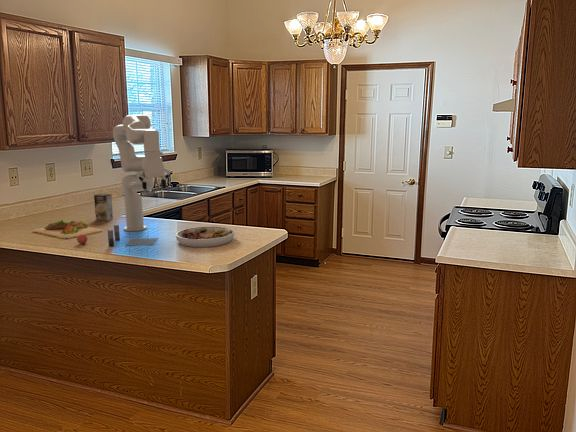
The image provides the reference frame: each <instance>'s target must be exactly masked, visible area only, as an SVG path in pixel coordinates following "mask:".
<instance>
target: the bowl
mask: <svg viewBox="0 0 576 432" xmlns="http://www.w3.org/2000/svg"><path fill="white" fill-rule="evenodd" d="M234 237H235V230H234V229H232V228H230V227H225V226H215V225H214V226H213V225H212V226H209V225H208V226H196V227H188V228H184V229H181V230H179V231H177V232H176V233H175V238H176V241H177V242H178V243H179V244H180V245H182V246H185V247H191V248H211V247H212V248H213V247H218V246H223V245H226V244H228V243H230V242H232V240H233V239H234Z"/></svg>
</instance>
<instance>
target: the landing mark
mask: <svg viewBox="0 0 576 432" xmlns="http://www.w3.org/2000/svg"><path fill="white" fill-rule="evenodd" d="M158 239H159V238H158V237H153V238H151V237H150V238H149V237H148V238H130V240H129V241H128V242H127V243H126V244H125V247H128V246H129V247H132V246H133V247H134V246H135V247H136V246H154V245H155V243H156V242H157V241H158Z"/></svg>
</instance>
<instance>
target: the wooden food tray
mask: <svg viewBox="0 0 576 432" xmlns="http://www.w3.org/2000/svg"><path fill="white" fill-rule="evenodd" d="M32 232H33V233H34V232H38V233H37V234H39V233H42V234H41V235H43V234H47V235H46V236H48V235H52V236H56V237H55V238H57V237H60V238H59V239H61V238H72V239H74V238H73V237H76V238H77V237H78V236H79V235H81V234H84V235H86V236H89V235H88V234H90V235H93V233H94V234H97V232H99V233H102V232H103V230H102V228H98V227H93V226H89V224H87V223H85V222H84V221H83V220H79V221H77V220H70V221H64V219H60V220H58V221H57V222H53V223H49V224H48V225H45V226H44V227H40V228H35V229H33V231H32ZM52 236H51V237H52Z"/></svg>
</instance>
